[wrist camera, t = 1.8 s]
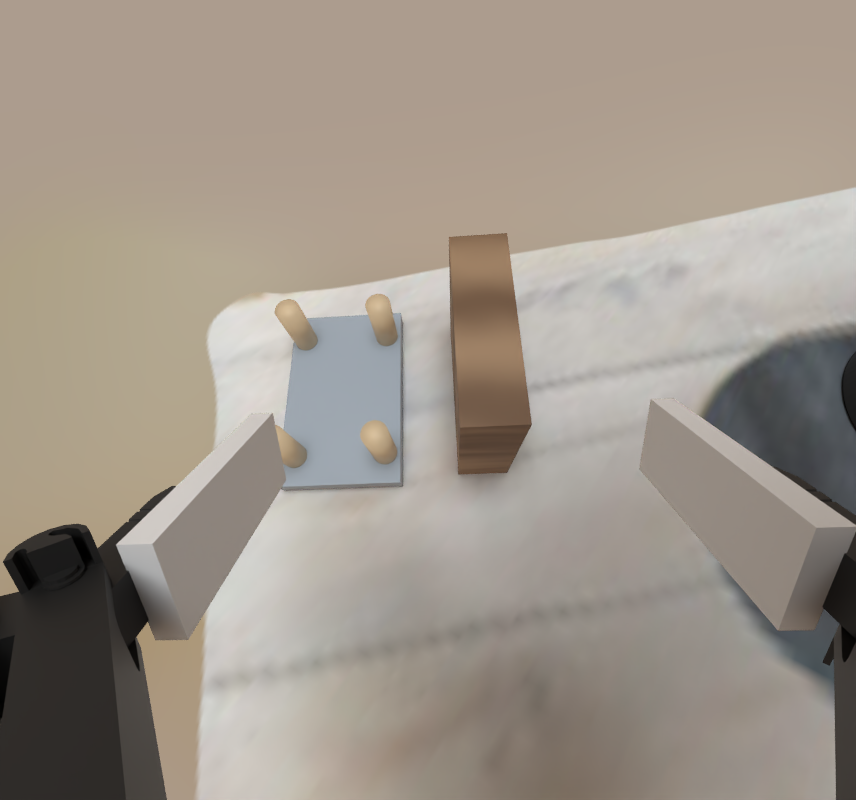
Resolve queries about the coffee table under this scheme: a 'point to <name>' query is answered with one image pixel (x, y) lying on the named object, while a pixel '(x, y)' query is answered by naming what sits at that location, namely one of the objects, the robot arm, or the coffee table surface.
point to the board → (486, 355)
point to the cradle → (343, 399)
